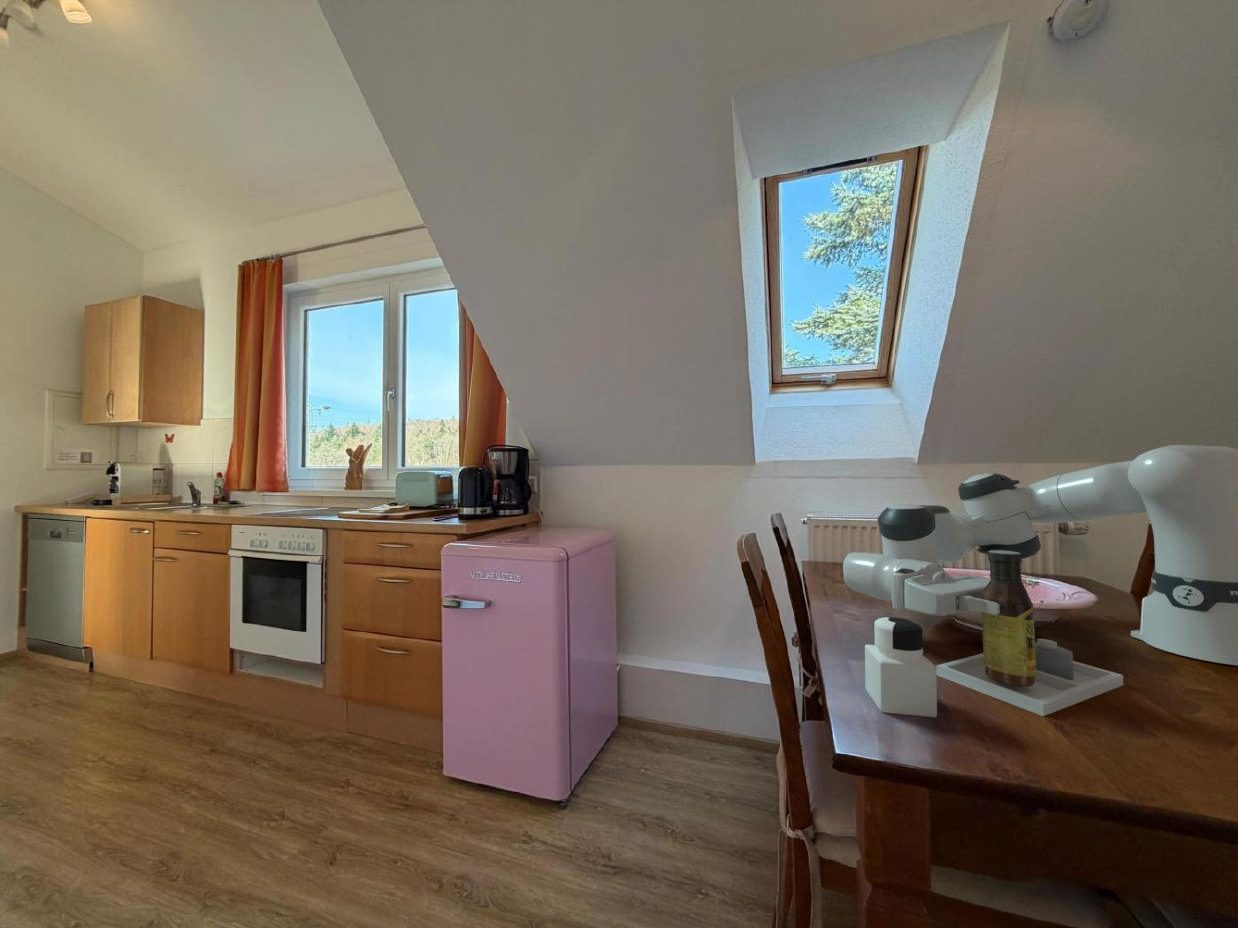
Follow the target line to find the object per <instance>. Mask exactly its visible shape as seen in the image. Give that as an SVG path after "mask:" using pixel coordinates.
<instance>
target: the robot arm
mask: <svg viewBox="0 0 1238 928" xmlns="http://www.w3.org/2000/svg"><path fill="white" fill-rule="evenodd" d="M1020 483H1021V481H1019V479H1012V478H1010V477H1009V476H1007V475H1004V474H1002V473H1001V474H1000V473H997V472H996V473H995V472H994V473H988V472H987V473H986V472H985V473H980V474H976V475H975V474H974V475H972V476H970V477H969V478H967V479H966V480H965V481H963V482H961V484H960V485H959V486H958V487H957V488H958V489H957V490H958V496H959V499H960V500H961V501H962V503H963V507H964V509H965V511H966V513H965V512H963V511H958V510H950V509H948V507H946V506H943V505H931V504H930V505H929V504H928V505H925V504H923V505H917V504H913V503H912V504H911V503H910V504H909V503H902V504H896V505H895V504H894V505H891V506H889V507H886V508H885V509H884V510H883V511H882V512H881V513H880V514H879V515H878V517H877V523H878V530H879V533H880V537H881V545H882V553H883V554H882V553H875V552H866V551H865V552H864V551H863V552H859V551H854V552H849V553H848V554H847V555H846V556H845V558H844V560H843V562H842V575H843V580H844V583H845V584H846V585H847V587H849V588H850V589H851V590H853V591H855V592H858V593H860V594H863V595H865V596H868V597H872V598H874V599H878V600H883V601H892V602H891V603H892V608H893V609H894V610H897V611H901V612H907V611H909V612H910V611H912V612H916V613H920V614H925V615H931V616H943V617H945V616H948V615H954V614H955V615H956V614H960V613H964V612H974V613H976V612H977V613H982V612H986V613H990V614H994V615H997V614H1001V613H1003V604H1002V603H1001V602H998V601H994V600H984V599H982V592H983V590H984V588H985V587H986V586H987V584H988V583H989V582H990V580H991V578H990V577H985V576H979V575H972V574H971V575H970V574H968V575H966V574H961V575H954V576H951V574H949V573H948V572H946V571H945V569H944V568H943V566H941V564H940V563H945V564H946V563H954V562H959V561H960V560H963V559H964V558H966V557H967V556H968V555H969V554H970V553H971V552H972V551H973V550H974V548H975V547H978V548H977V549H976V551H977V552H978V553H980V554H984V555H986V556H988V551H991V550H1004V551H1013V552H1019V553H1021V557H1022V561H1024V560H1026V559H1028V558H1030V557H1033V556H1035V555H1037V554H1038V553H1039V551H1040V550H1041V549H1042V548H1041V547H1042V545H1041V541H1040V537H1039V535H1038V534H1037V533H1036V530H1035V527H1034V525H1033V522H1036V523H1043V524H1044V523H1048V524H1049V523H1051V524H1052V523H1053V524H1055V523H1057V524H1059V523H1073V522H1074V523H1075V522H1083V521H1089V520H1096V519H1105V518H1111V517H1117V516H1126V515H1133V514H1141V513H1142V514H1143V513H1147V516H1148V518H1149V521H1150V525H1151V527H1152V528H1151V529H1152V533H1153V542H1154V543H1153V544H1154V545H1153V547H1154V566H1155V567H1154V569H1155V570H1153V571H1152V573H1151V580H1150V581H1151V584H1152V585H1151V587H1152V590H1153V592H1152V593H1151V594H1149V595H1146V596H1145V597H1143V598H1142V601H1141V615H1140V629H1135V630H1131V631H1130V635H1131V637H1133V638H1136V639H1138V640H1141V641H1143V642H1145V643H1146V644H1147V645H1149V646H1151V647H1153V648H1156V649H1159V650H1162V651H1165V652H1168V653H1172V654H1176V655H1178V656H1183V657H1188V658H1192V659H1197V660H1201V661H1207V662H1213V663H1216V664H1217V663H1218V664H1225V665H1232V666H1238V520H1237V518H1236V515H1235V512H1234V509H1233V506H1232V502H1237V501H1238V448H1235V447H1231V446H1230V447H1228V446H1221V445H1216V446H1214V445H1197V444H1196V445H1195V444H1194V445H1193V444H1191V445H1190V444H1172V445H1165V446H1160V447H1157V448H1154V449H1151V450H1148V451H1146V452H1145V451H1144V452H1143V453H1141V454H1139V455H1138V456H1136V457H1135V458H1134V459H1133V460H1128V461H1119V462H1114V463H1113V462H1112V463H1107V464H1102V465H1099V466H1093V467H1089V468H1084V469H1080V470H1076V471H1071V472H1068V473H1063V474H1058V475H1055V476H1051V477H1048V478H1045V479H1042V480H1038V481H1036V482H1034V483H1031V484H1028V485H1026V486H1023V487H1018V486H1015V485H1017V484H1020ZM1030 600H1031V601H1032V599H1031V598H1030Z"/></svg>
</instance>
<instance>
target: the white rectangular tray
mask: <svg viewBox="0 0 1238 928" xmlns="http://www.w3.org/2000/svg"><path fill="white" fill-rule="evenodd" d="M935 666H936V676H938V677H941V678H944V679H946V680H949V681H951V682H954V683H955V684H956V683H957V684H959V685H961V686H963V687H967V688H969V689H971V690H974V691H977V692H979V693H982V694H985V695H987V696H990V697H992V698H995V699H997V700H1000V701H1003V702H1004V703H1008V704H1010V705H1013V706H1016V707H1018V708H1021V709H1024V710H1026V711H1029V712H1030V713H1031V712H1032V713H1034V714H1037V715H1039V716H1042V717H1044V716H1048V715H1050V714H1053V713H1055V712H1058V711H1061V710H1063V709H1066V708H1068V707H1071V706H1074V705H1076V704H1078V703H1081V702H1084V701H1086V700H1089V699H1091V698H1094V697H1096V696H1099V695H1101V694H1105V693H1107V692H1110V691H1112V690H1115V689H1117V688H1120V687H1122V686H1124V675H1123V674H1120V673H1118V672H1113V671H1111V670H1107V669H1103V668H1099V667H1097V666H1096V667H1095V666H1092V665H1089V664H1086V663H1082V662H1078V661H1075V660H1073V680H1071V681H1070V680H1067V679H1064V678H1061V677H1058V676H1055V675H1051V674H1048V673H1045V672H1042V671H1039V670H1036V675H1035V683H1034V685H1032V686H1029V687H1017V686H1012V685H1007V684H1003V683H1000V682H997V681H995V680H993V679H991V678H989V677H988V676H987V675H986V673H985V665H984V653H983V652H982V653H978V654H974V655H972V656H971V655H970V656H967V657H964V658H960V659H957V660H952V661H948V662H944V663H941V664H937V665H935Z"/></svg>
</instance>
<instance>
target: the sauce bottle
mask: <svg viewBox="0 0 1238 928" xmlns="http://www.w3.org/2000/svg"><path fill="white" fill-rule="evenodd" d="M987 560H988V562H989V564H990V565H989V569H990V570H989V572H990V573H989V578H991V580H990V582H989V583H988V584H987V586H986V587H985V588H984V590H983V592H982V599H984V600H994V601H998V602H1001V603H1002V604H1003V613H1001V614H997V615H994V614H990V613H986V612H981V624H982V625H981V626H982V627H981V628H982V651H983V652H982V653H984V665H985V673H986V675H987V676H988V677H989V678H991V679H993V680H995V681H997V682H1000V683H1003V684H1007V685H1012V686H1017V687H1029V686H1032V685H1034V683H1035V675H1036V657H1035V642H1036V638H1035V634H1036V633H1035V632H1036V631H1035V618H1034V616H1035V615H1034V613H1035V612H1034V605H1033V604H1034V603H1033V602H1032V599H1031V598H1030V597H1029V593H1028V591H1027V589H1026V587H1025V585H1024V583H1023V580H1022V571H1021V570H1022V567H1021V564H1022V562H1023V560H1022V557H1021V553H1019V552H1013V551H1004V550H991V551H988V555H987ZM1030 599H1031V600H1030Z"/></svg>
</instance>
